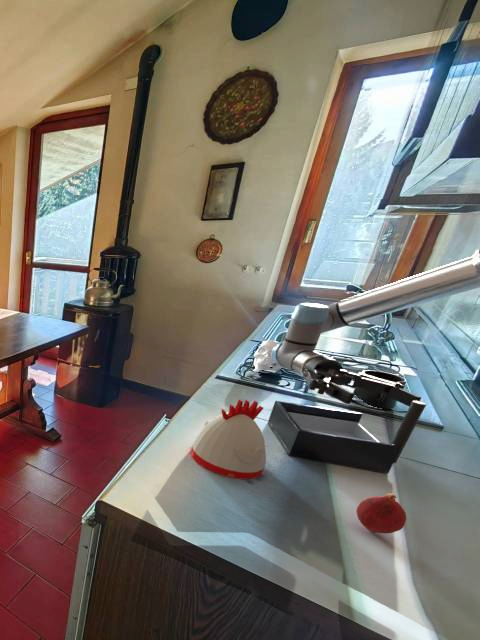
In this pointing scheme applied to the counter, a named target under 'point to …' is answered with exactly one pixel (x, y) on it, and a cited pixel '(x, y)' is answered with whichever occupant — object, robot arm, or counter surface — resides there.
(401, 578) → the counter surface
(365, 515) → the onion
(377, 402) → the mug
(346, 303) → the robot arm
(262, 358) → the pale pink rounded lump
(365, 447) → the black open box
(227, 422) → the kitchen timer
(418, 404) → the white boxy piece
